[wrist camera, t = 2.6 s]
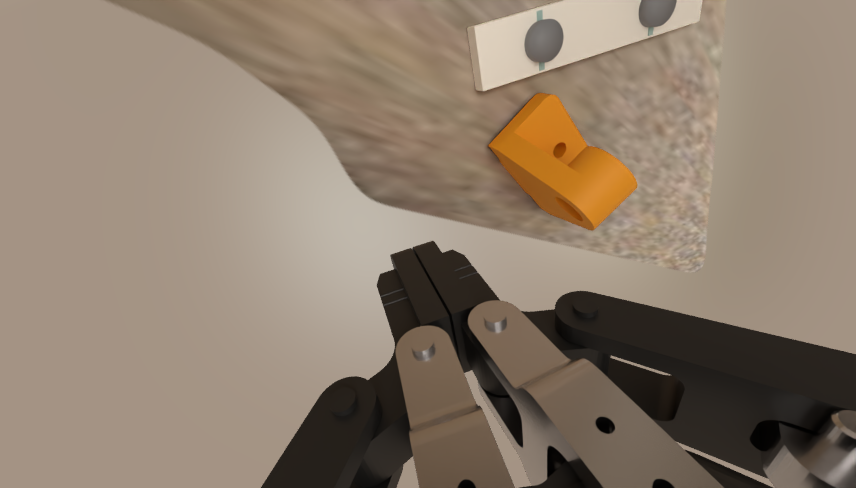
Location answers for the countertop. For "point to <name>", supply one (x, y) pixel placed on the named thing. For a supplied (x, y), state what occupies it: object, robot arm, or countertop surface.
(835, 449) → the robot arm
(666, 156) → the countertop surface
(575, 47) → the board
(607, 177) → the bracket
